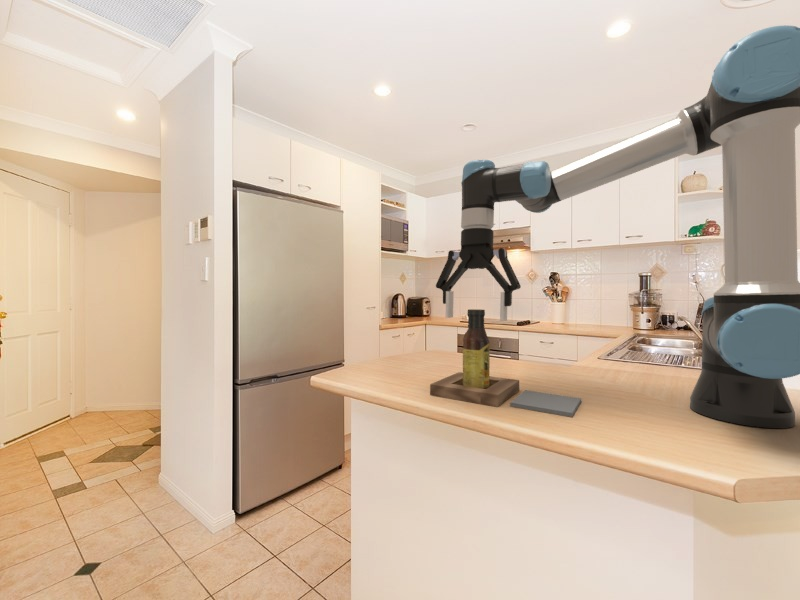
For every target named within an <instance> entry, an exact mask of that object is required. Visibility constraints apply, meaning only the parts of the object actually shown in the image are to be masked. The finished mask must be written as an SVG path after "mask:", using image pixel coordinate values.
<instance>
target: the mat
mask: <svg viewBox="0 0 800 600" xmlns="http://www.w3.org/2000/svg"><path fill="white" fill-rule="evenodd" d="M581 404H582V398H580V397H576V396H569V395H568V396H567V395H562V394H554V393H548V392H541V391H534V390H527V389H525V390H523V391H522V392H521V393H520V394H518V395H517V396H516V397H515V398H514V399H513V400H511V401H510V403H509V407H511V408H516V409H518V408H519V409H524V410H528V411H529V410H530V411H534V412H541V413H546V414H553V415H558V416H564V417H570V418H573V417H574V416H575V414H576V411H577V410H578V408H580V405H581Z"/></svg>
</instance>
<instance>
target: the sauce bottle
mask: <svg viewBox="0 0 800 600" xmlns="http://www.w3.org/2000/svg"><path fill="white" fill-rule="evenodd" d="M485 311H486V310H485V309H479V308H478V309H474V308H472V309H471V308H470V309H467V313H466V314H467V318H468V322H467V323H468V325H467V328H468V329H467V330H466V332H465V333H464V335H463V340H462V341H463V348H462V373H463V386H469V387H476V388H482V389H487V388H489V376H490V367H491V366H490V357H491V356H490V354H491V353H490V348H491V347H490V340H489V337H488V335H487V332H486V329H485V315H486V312H485Z"/></svg>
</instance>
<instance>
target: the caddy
mask: <svg viewBox="0 0 800 600" xmlns="http://www.w3.org/2000/svg"><path fill="white" fill-rule="evenodd" d="M519 391H520V379H513V378H506V377H498V376H491V375H489V388H487V389H482V388H476V387H469V386H463V371H462V372H461V371H460V372H459V371H458V372H455V373H454V374H451V375H449V376H446V377H444V378H441V379H439V380H436V381H435V382H432V383H430V385H429V395H430V396H434V397H439V398H445V399H451V400H457V401H462V402H467V403H472V404H478V405H485V406H489V407H495V408H498V407H499V406H501V405H502V404H503V403H505V402H506V401H507V400H509V399H510V398H511V397H513V396H514V395H515V394H516V393H518V392H519Z"/></svg>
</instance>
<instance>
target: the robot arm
mask: <svg viewBox="0 0 800 600" xmlns="http://www.w3.org/2000/svg"><path fill="white" fill-rule="evenodd" d="M799 125H800V27H798V26H795V25H786V24H785V25H774V26H770V27H766V28H762V29H759V30H756V31H753V32H752V33H749V34H748V35H747V36H744V37H742V38H741V39H740V40H738V41H737V42H736V43H734V44H733V45H732V46H731V47H730V48H729V49H728V50H727V51H726V52H725V53H724V54H723V55H722V57H721V58H720V60H719V62H718V63H717V64H716V66H715V68H714V70H713V73H712V75H711V82H710V85H709V88H708V91H707V94H706V96H704V97H703V98H702V99H700V100H699V101H697V102H695V103H694V104H692V105H689V106H687V107H684V108H683V109H681V110H680V111H679V112H678V114H677V115H676V116H675V118H672V119H671V120H668V121H666V122H665V121H664V122H663V123H661V124H659V125H656V126H654V127H652V128H648V129H647V130H644V131H642V132H640V133H638V134H636V135H633V136H630V137H628V138H626V139H624V140H622V141H619V142H617V143H614V144H611V145H609V146H607V147H605V148H602V149H600V150H597V151H596V152H593V153H591V154H590V153H589V154H588V155H586V156H584V157H581V158H579V159H577V160H575V161H572V162H570V163H567V164H565V165H562V166H561V167H558V168H556V169H554V170H552V171H551V169H550V168H551V167H550V166H549V163H548V162H546V161H545V160H542V161H540V160H539V161H529V162H525V163H524V162H523V163H519V164H514V165H507V166H503V167H496V165H495V163H494V161H492V160H489V159H474V160H471V161H468V162H466V164H464V166H463V168H462V176H461V177H462V179H461V182H460V183H461V219H460V220H461V221H460V222H461V223H460V227H461V229H463V230H461V231H460V251H455V250H448V253H447V254H448V255H447V259H446V262H445V264H444V267H443V268H442V271H441V273H440V275H439V277H438V279H437V282H436V284H435V288H436V289H439V290H441V291H442V304H443V305H445V319H448V318H449V319H450V318H454V295H455V294H454V293H455V292H454V291H452V289H453V287H454V286H455V285H456V283H458V281H459V280H460V279H461V277H462V276H463V274H464V273H466V271H468V270H477V269H479V270H480V269H481V270H487V271H488V272H489V273H490V275H491V276H492V277H493V279H495V281H496V282H497V284H499V286H500V287H501V288H502V290H503V291H501V292H500V304H499V305H500V309H499V311H500V312H499V313H500V314H499V322H506V321H508V307H512V301H513V298H512V297H513V292H514V291H516V290H517V291H518V290H520V289H521V284H520V282H519V280H518V278H517V275H516V273H515V272H514V270H513V269H514V268H513V267H512V265H511V263H510V261H509V259H508V249H505V248H503V247H500V248H498V249H494V230H493V229H492V228H494V224H495V223H494V221H495V220H494V219H495V218H494V217H495V203H503V202H510V201H511V202H512V201H515V202H516V203H518V204H520V205H521V206H522V207H523V208H524V209H525V210H526V211H529V212H531V213H534V214H535V213H536V214H539V213H540V214H541V213H544V212H546V211H548V209H550V208H551V207H552V205H554V204H556V203H559V202H561V201H564V200H566V199H570V198H572V197H575V196H578V195H580V194H583V193H585V192H588V191H590V190H593V189H596V188H599V187H601V186H604V185H606V184H609V183H612V182H614V181H616V180H619V179H622V178H625V177H627V176H630V175H632V174H636V173H638V172H641V171H643V170H646V169H648V168H651V167H653V166H656V165H659V164H662V163H664V162H667V161H669V160H672V159H675V158H678V157H680V156H683V155H690V156H694V157H695V156H697V155H699V154H702V153H705V152H707V151H710V150H713V149H715V148H718V147H721V153H722V158H721V159H722V199H723V200H722V202H723V204H722V207H723V250H724V252H723V254H724V255H723V257H724V283H723V285H722V286H721V287H720V288H719V289H718V290H715V292H714V293H713V297H710V298H707V299H706V300H704V302H703V306H702V307H703V308H702V310H701V316H702V334H701V335H702V337H701V338H702V339H701V340H702V342H701V347H702V348H701V372H700V375H699V377H698V379H697V380H696V383H695V385H694V387H693V390H692V392H691V395H690V397H689V408H690V409H691V410H692V411H693V412H695V413H697V414H700V415H702V416H705V417H708V418H712V419H715V420H719V421H723V422H727V423H732V424H737V425H741V426H743V425H744V426H748V425H749V426H748V427H755V426H756V428H764V429H766V428H767V429H788V428H792V427H795V426H796V411H795V408H794V406H793V403H792V402H791V400H790V397H789V394H788V392H787V390H786V387H785V384H784V382H783V379H787V378H793V377H796V376H799V375H800V281H799V280H798V279H799V276H798V273H799V272H798V270H799V269H798V226H797V221H798V220H797V219H798V218H797V214H798V213H797V170H796V169H797V168H796V167H797V165H796V163H797V162H796V160H797V159H796V128H798V126H799ZM495 257H496V259H498V260H499V262H500V264H501V266H502V268H503V270H504V271H503V272H504V273H505V274H506V278H507V279H508V281H509V282H508V281H507V279H506V278H505V277H504V276H503V275H502V273H501V272H500V271H499V270H498V268H497V267H496V266H495V264H494V263H493V262H492V260H493V258H495ZM459 258H460V260H461V262H460V263H459V264H458V266H457V268H456V269H455V270H454V272H453V273H452V271H453V269H454V267H455V265H456V263H457V261H458V259H459ZM451 273H452V274H451Z"/></svg>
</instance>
